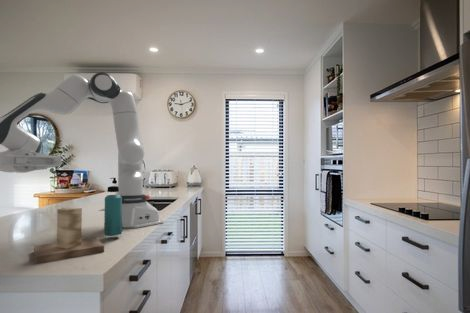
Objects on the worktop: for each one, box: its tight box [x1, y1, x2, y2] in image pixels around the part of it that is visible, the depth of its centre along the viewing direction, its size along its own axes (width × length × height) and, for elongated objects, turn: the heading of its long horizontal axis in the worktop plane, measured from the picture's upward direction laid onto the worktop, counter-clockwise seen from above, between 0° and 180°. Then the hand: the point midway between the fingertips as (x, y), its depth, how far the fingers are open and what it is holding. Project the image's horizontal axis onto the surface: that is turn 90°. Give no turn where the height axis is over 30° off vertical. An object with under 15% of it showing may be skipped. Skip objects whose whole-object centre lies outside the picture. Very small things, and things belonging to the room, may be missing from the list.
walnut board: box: [33, 236, 105, 265], centre depth 92 cm, size 18×14×2 cm
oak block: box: [56, 206, 83, 249], centre depth 92 cm, size 5×5×12 cm
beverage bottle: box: [103, 185, 123, 237], centre depth 110 cm, size 6×7×20 cm
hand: (42, 160), depth 102 cm, fingers open, 8 cm apart
